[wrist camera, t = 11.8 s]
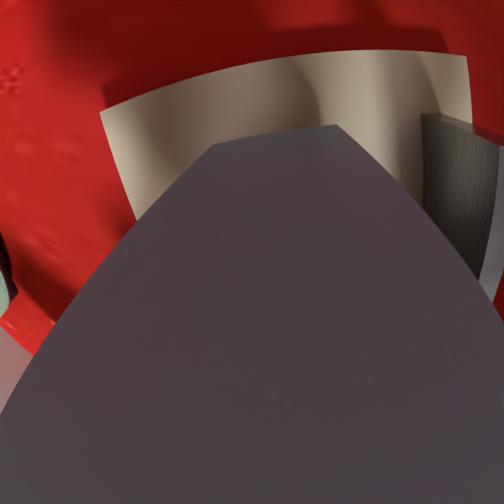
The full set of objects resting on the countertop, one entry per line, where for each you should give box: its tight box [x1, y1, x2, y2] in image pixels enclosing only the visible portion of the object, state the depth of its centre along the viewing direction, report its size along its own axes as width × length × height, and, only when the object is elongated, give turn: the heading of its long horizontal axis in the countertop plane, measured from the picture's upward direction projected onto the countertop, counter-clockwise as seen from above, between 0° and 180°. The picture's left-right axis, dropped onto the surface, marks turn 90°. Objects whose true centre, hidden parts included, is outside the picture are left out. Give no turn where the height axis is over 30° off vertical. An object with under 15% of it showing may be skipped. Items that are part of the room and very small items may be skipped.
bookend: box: [421, 113, 504, 303], centre depth 11 cm, size 1×10×6 cm, turn 12°
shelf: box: [100, 50, 472, 221], centre depth 12 cm, size 18×16×10 cm
